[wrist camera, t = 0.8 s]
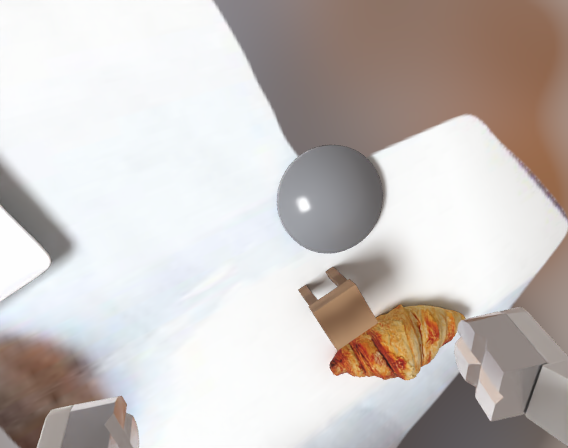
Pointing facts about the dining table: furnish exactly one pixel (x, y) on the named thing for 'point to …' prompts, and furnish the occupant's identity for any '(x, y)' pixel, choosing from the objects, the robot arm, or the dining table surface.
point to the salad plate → (18, 256)
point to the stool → (340, 310)
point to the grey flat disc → (329, 198)
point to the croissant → (398, 343)
